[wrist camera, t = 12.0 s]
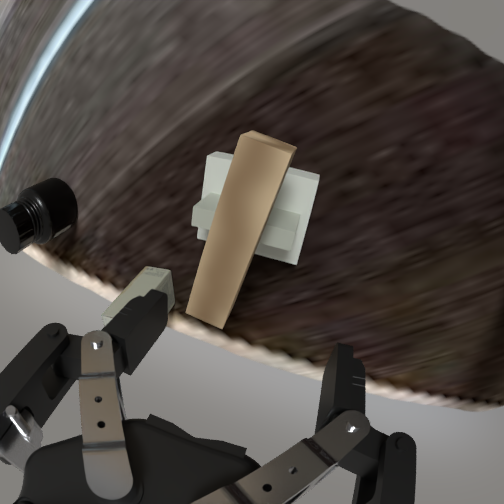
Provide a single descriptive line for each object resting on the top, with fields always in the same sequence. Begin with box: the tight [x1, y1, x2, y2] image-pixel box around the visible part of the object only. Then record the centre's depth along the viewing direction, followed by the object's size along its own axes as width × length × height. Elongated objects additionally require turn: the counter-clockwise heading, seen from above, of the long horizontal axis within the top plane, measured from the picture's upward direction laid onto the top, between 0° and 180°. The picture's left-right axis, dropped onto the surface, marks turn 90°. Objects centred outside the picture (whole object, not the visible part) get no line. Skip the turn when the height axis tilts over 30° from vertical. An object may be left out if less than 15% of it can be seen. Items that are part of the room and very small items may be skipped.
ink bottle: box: [0, 178, 77, 254], centre depth 39 cm, size 10×9×12 cm
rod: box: [186, 131, 297, 329], centre depth 28 cm, size 4×18×4 cm, turn 161°
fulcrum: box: [192, 151, 320, 265], centre depth 34 cm, size 12×10×8 cm
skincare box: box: [101, 266, 175, 326], centre depth 41 cm, size 6×4×12 cm
